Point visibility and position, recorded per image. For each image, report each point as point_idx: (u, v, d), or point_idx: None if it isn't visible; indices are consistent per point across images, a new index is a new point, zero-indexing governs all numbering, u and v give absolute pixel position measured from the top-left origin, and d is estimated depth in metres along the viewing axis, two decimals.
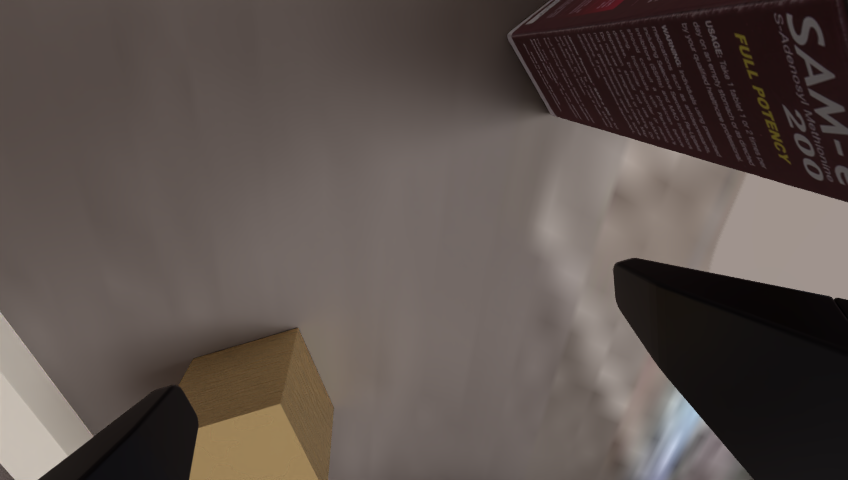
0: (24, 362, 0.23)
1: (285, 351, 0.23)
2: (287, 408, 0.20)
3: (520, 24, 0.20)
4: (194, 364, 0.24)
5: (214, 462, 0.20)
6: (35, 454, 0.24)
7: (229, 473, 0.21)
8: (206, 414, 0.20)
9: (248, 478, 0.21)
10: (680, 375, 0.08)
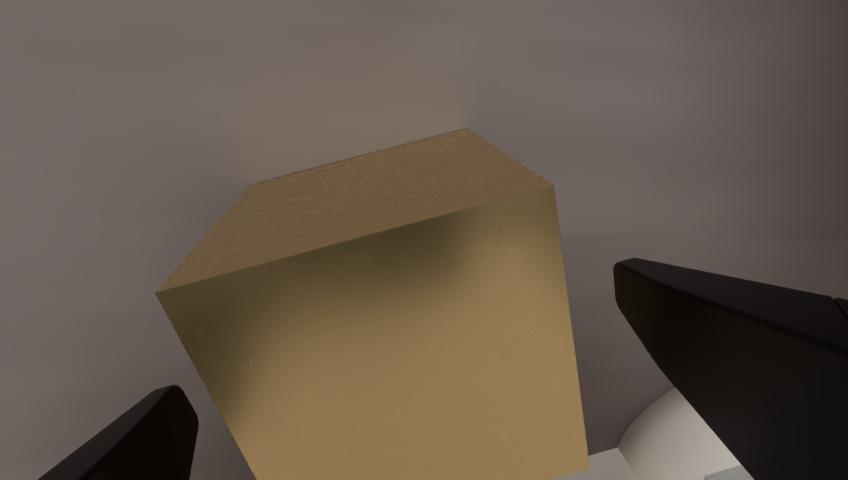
0: None
1: None
2: (210, 267, 0.07)
3: None
4: None
5: (368, 445, 0.08)
6: None
7: (410, 419, 0.08)
8: None
9: (436, 381, 0.08)
10: (680, 375, 0.08)
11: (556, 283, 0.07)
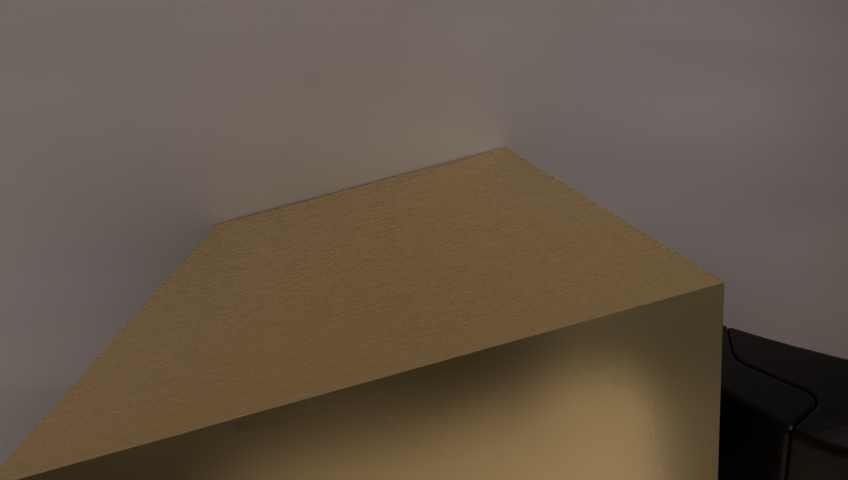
0: None
1: None
2: (98, 422, 0.04)
3: None
4: None
5: None
6: None
7: None
8: None
9: None
10: None
11: (703, 437, 0.04)
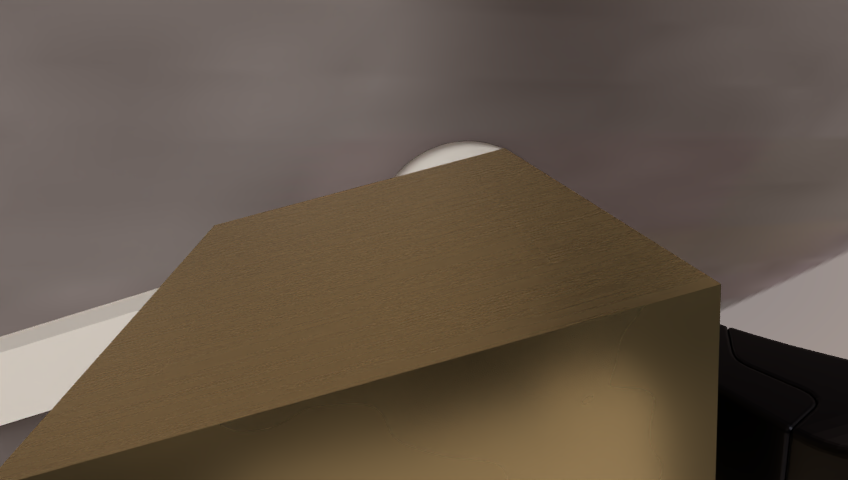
0: (103, 310, 0.19)
1: None
2: (96, 423, 0.04)
3: None
4: None
5: None
6: None
7: None
8: None
9: None
10: None
11: (700, 438, 0.04)
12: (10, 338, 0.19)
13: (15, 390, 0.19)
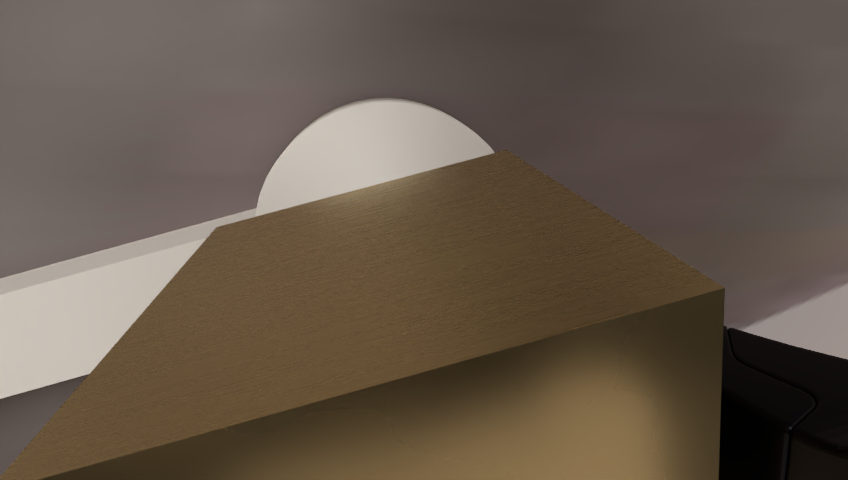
0: None
1: None
2: (101, 427, 0.04)
3: None
4: None
5: None
6: (24, 334, 0.13)
7: None
8: None
9: None
10: None
11: (704, 441, 0.04)
12: None
13: None
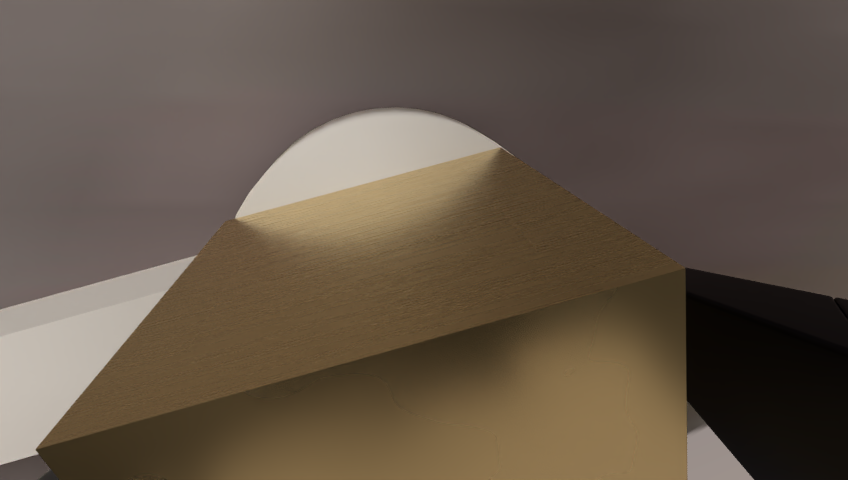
0: None
1: None
2: (132, 394, 0.04)
3: None
4: None
5: None
6: None
7: None
8: None
9: None
10: None
11: (672, 408, 0.05)
12: None
13: None
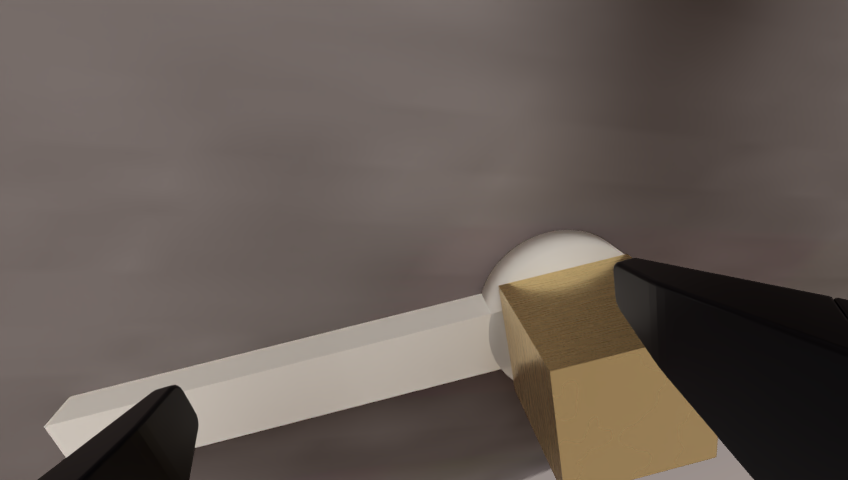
0: (233, 363, 0.21)
1: (513, 316, 0.18)
2: (564, 358, 0.15)
3: None
4: (518, 394, 0.22)
5: (615, 442, 0.16)
6: (337, 378, 0.21)
7: (637, 429, 0.16)
8: (550, 433, 0.17)
9: (654, 411, 0.16)
10: (680, 375, 0.08)
11: None
12: (146, 384, 0.21)
13: None
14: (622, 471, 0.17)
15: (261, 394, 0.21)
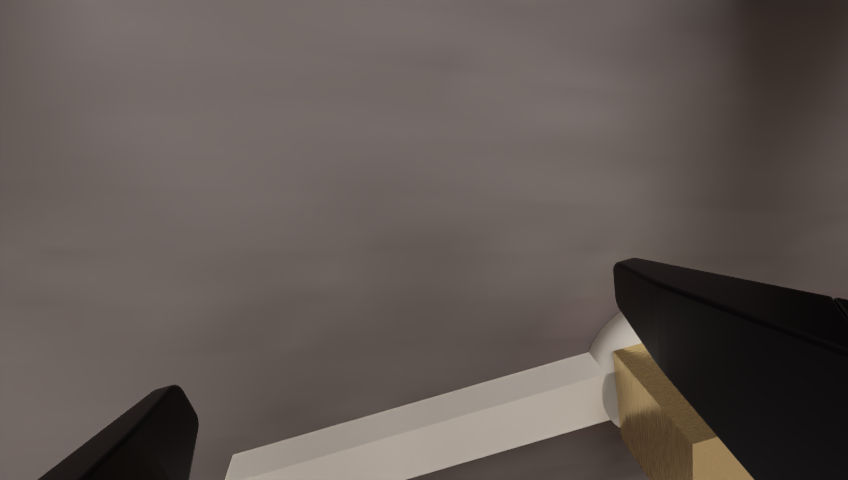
0: (376, 422, 0.24)
1: (635, 383, 0.21)
2: (701, 430, 0.18)
3: None
4: (626, 442, 0.25)
5: None
6: (470, 434, 0.24)
7: None
8: None
9: None
10: (680, 375, 0.08)
11: None
12: (301, 443, 0.24)
13: None
14: None
15: (405, 451, 0.24)
